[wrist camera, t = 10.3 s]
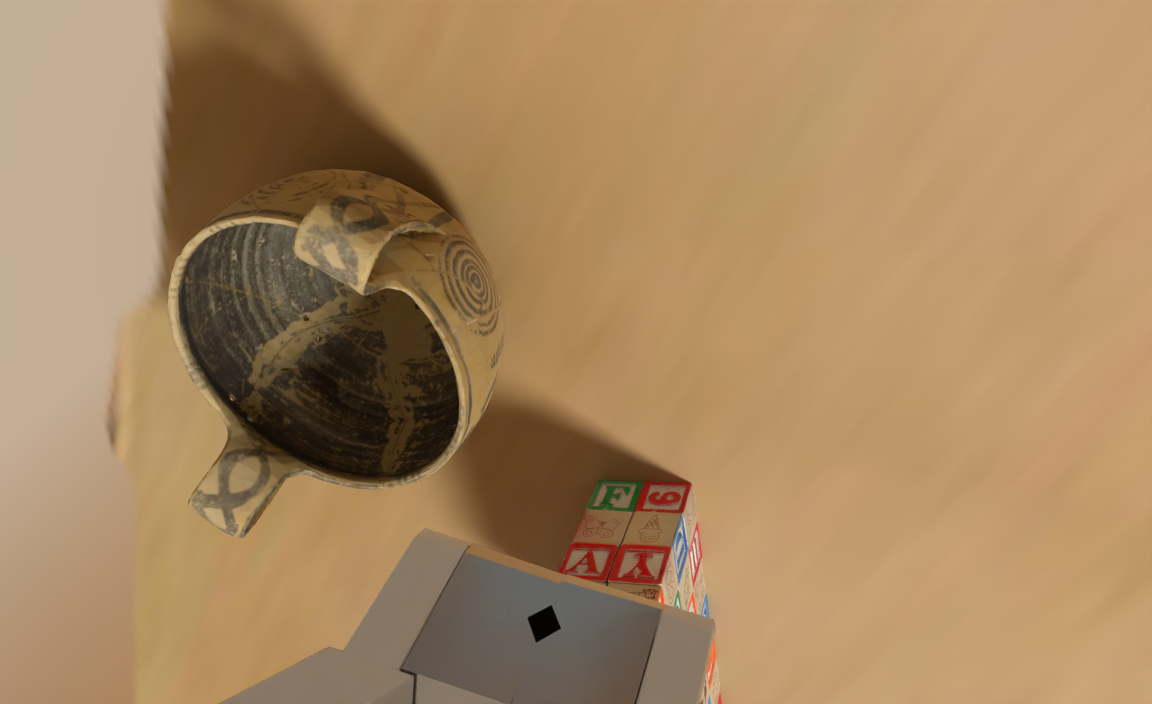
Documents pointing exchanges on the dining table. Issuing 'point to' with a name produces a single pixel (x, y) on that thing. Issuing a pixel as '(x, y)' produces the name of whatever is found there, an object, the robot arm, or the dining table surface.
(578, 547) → the stack of blocks
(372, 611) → the robot arm
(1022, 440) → the dining table surface
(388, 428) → the ceramic bowl
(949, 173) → the dining table surface
